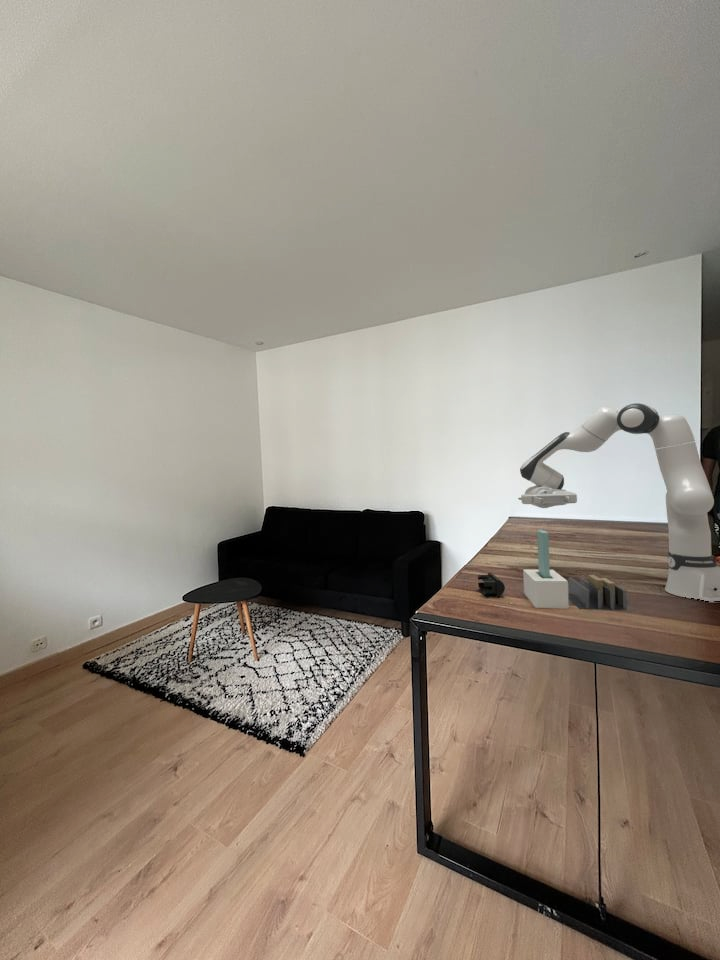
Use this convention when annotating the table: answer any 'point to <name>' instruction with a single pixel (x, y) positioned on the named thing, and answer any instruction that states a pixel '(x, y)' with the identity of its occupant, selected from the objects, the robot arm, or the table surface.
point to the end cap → (490, 585)
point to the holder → (546, 589)
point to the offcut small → (609, 585)
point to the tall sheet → (543, 554)
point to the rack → (596, 596)
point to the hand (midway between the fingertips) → (554, 500)
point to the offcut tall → (597, 584)
